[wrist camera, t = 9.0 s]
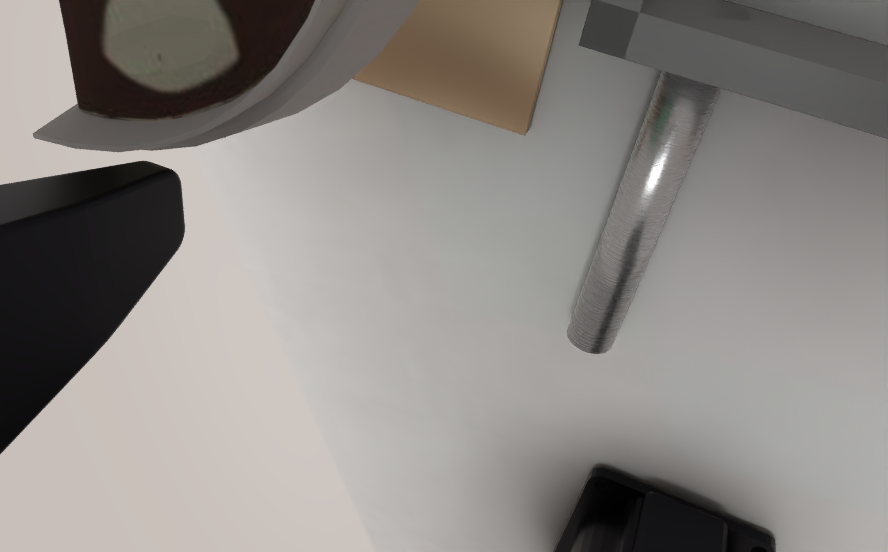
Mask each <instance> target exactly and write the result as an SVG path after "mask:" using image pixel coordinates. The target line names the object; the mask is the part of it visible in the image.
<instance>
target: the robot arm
mask: <svg viewBox="0 0 888 552" xmlns="http://www.w3.org/2000/svg"><path fill="white" fill-rule="evenodd" d="M183 212H184V211H183V200H182V188H181V181H180V178H179V176H178V174H177V173H176V172H174V171H173V170H172V169H169V168H166V167H163V166H160V165H157V164H154V163H152V162H148V161H138V162H132V163H126V164H120V165H115V166H109V167H103V168H97V169H91V170H86V171H79V172H74V173H68V174H62V175H57V176H51V177H44V178H38V179H33V180H27V181H21V182H15V183H9V184H3V185H0V454H1V453H2V452H3V451H4V450H5V449H6V448H7V447H8V446H9V444H11V442H12V441H13V440H14V439H15V438H16V437H17V436H18V435H19V434H20V433H21V432H22V431H23V430H24V429H25V428H26V427H27V425H29V424H30V422H31V421H32V420H33V419H34V418H35V417H36V416H37V415H38V414H39V413H40V412H41V411H42V410H43V408H45V407H46V406H47V405H48V403H49V402H50V401H51V400H52V399H53V398H54V397H55V396H56V395H57V394H58V393H59V392H60V391H61V390H62V389H63V388H64V386H66V384H67V383H68V382H69V381H70V380H71V379H72V378H73V377H74V376H75V375H76V374H77V373H78V372H79V371H80V370H81V369H82V368H83V367H84V366H85V364H86V363H87V362H88V361H89V360H90V359H91V358H92V357H93V356H94V355H95V354H96V353H97V351H98V350H99V349H100V348H101V347H102V346H103V345H104V344H105V343H106V342H107V341H108V339H109V338H110V337H111V336H112V334H113V333H114V332H115V331H116V329H117V328H118V327H119V326H120V325H121V323H122V322H123V321H124V319H125V318H126V317H127V315H128V314H129V313H130V311H131V310H132V309H133V308H134V306H135V305H136V304H137V302H138V301H139V300H140V299H141V297H142V296H143V294H144V293H145V292H146V290H147V289H148V288H149V287H150V285H151V284H152V283H153V282H154V280H155V279H156V278H157V276H158V275H159V274H160V272H161V271H162V270H163V268H164V267H165V266H166V265H167V263H168V262H169V261H170V259H171V258H172V257H173V255H174V254H175V253H176V251H177V250H178V248H179V247H180V245H181V243H182V241H183V237H184V232H185V223H184V213H183ZM601 481H602V482H601ZM604 482H605V483H604ZM553 552H776V543H775V540H774V539H773V538H772V537H771V536H769V535H767V534H765V533H763V532H761V531H758V530H756V529H753V528H751V527H748V526H746V525H743V524H741V523H739V522H736V521H734V520H731V519H729V518H726V517H724V516H722V515H719V514H717V513H714V512H712V511H709V510H707V509H704V508H702V507H700V506H697V505H695V504H692V503H690V502H687V501H685V500H682V499H680V498H678V497H675V496H673V495H670V494H668V493H665V492H663V491H660V490H658V489H656V488H653V487H651V486H648V485H646V484H643V483H641V482H638V481H636V480H634V479H631V478H629V477H626V476H624V475H621V474H619V473H616V472H614V471H612V470H609V469H606V468H595V469H593V470H592V471H591V472H590V474H589V476H588V478H587V480H586V483H585V485H584V487H583V489H582V491H581V493H580V495H579V497H578V500H577V502H576V504H575V506H574V508H573V510H572V512H571V514H570V517H569V519H568V521H567V523H566V525H565V527H564V529H563V532H562V534H561V536H560V538H559V540H558V542H557V544H556V546H555V549H554V551H553Z"/></svg>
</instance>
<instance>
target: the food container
mask: <svg viewBox="0 0 888 552" xmlns="http://www.w3.org/2000/svg"><path fill="white" fill-rule="evenodd" d="M418 2H419V0H59V3H60V8H61V13H62V17H63V23H64V27H65V33H66V38H67V44H68V50H69V55H70V61H71V67H72V73H73V79H74V84H75V90H76V95H77V102H78V104H76V105H75V106H73V107H72V108H70V109H69V110H67V111H66V112H64V113H63V114H61V115H60V116H58V117H57V118H55V119H54V120H52V121H51V122H49V123H48V124H46V125H45V126H43V127H42V128H40V129H39V130H37V131H36V132H35V133H33V136H34V138H36V139H40V140H44V141H48V142H52V143H56V144H60V145H64V146H67V147H72V148H76V149H77V148H78V149H89V150H100V151H112V152H124V151H133V150H163V149H173V148H182V147H192V146H198V145H201V144H204V143H208V142H211V141H214V140H217V139H220V138H223V137H226V136H230V135H233V134H236V133H239V132H242V131H245V130H248V129H251V128H254V127H257V126H260V125H263V124H266V123H269V122H272V121H275V120H278V119H281V118H284V117H287V116H290V115H293V114H296V113H298V112H300V111H302V110H304V109H305V108H307V107H309V106H311V105H312V104H314V103H316V102H318V101H319V100H321V99H323V98H325V97H326V96H328V95H330V94H332V93H333V92H335V91H337V90H339V89H340V88H341V87H342V86H343V85H345V84H346V83H347V82H348V81H349V80H350V79H351V78H352V77H354V76H355V75H356V74H357V73H358V72H359V71H360V70H362V69H363V68H364V67H365V66H366V65H367V64H368V63H370V62H371V61H372V60H373V59H374V58H375V57H376V56H378V55H379V53H380V52H381V51H382V50H383V48H384V47H385V46H386V45H387V43H388V42H389V41H390V39H391V38H392V37H393V36H394V34H395V33H396V32H397V30H398V29H399V28H400V27H401V25H402V24H403V23H404V21H405V20H406V19H407V18H408V16H409V15H410V14H411V12H412V11H413V10H414V9H415V7H416V5H417V4H418Z"/></svg>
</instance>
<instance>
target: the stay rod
mask: <svg viewBox="0 0 888 552" xmlns="http://www.w3.org/2000/svg"><path fill="white" fill-rule="evenodd" d="M720 91H721V88H718V87H715V86H712V85H708V84H705V83H702V82H698V81H695V80H692V79H688V78H685V77H682V76H678V75H675V74H672V73H668V72H665V71H662V72H661V75H660V78H659V80H658V83H657V86H656V89H655V91H654V94H653V97H652V99H651V102H650V105H649V108H648V110H647V113H646V116H645V119H644V121H643V124H642V127H641V130H640V132H639V135H638V138H637V141H636V143H635V146H634V149H633V151H632V154H631V157H630V160H629V162H628V165H627V168H626V171H625V173H624V176H623V179H622V182H621V184H620V187H619V190H618V192H617V195H616V198H615V201H614V203H613V206H612V209H611V212H610V214H609V217H608V220H607V223H606V225H605V228H604V231H603V234H602V236H601V239H600V242H599V244H598V247H597V250H596V253H595V255H594V258H593V261H592V264H591V266H590V269H589V272H588V275H587V277H586V280H585V283H584V286H583V288H582V291H581V294H580V296H579V299H578V302H577V305H576V307H575V310H574V313H573V316H572V318H571V321H570V324H569V327H568V330H567V335H568V338H569V340H570V341H571V342H572V343H573V344H574V345H575V346H576V347H577V348H579V349H581V350H583V351H585V352H588V353H593V354H600V353H605V352H607V351H609V350H610V349H611V347H612V345H613V343H614V340H615V338H616V335H617V333H618V331H619V328H620V326H621V324H622V321H623V319H624V317H625V314H626V312H627V310H628V307H629V305H630V303H631V300H632V298H633V296H634V293H635V291H636V288H637V286H638V284H639V281H640V279H641V277H642V274H643V272H644V270H645V267H646V265H647V263H648V260H649V258H650V256H651V253H652V251H653V249H654V246H655V244H656V241H657V239H658V237H659V234H660V232H661V230H662V227H663V225H664V223H665V220H666V218H667V216H668V213H669V211H670V209H671V206H672V204H673V202H674V199H675V197H676V195H677V192H678V190H679V187H680V185H681V183H682V180H683V178H684V176H685V173H686V171H687V169H688V166H689V164H690V162H691V159H692V157H693V155H694V152H695V150H696V148H697V145H698V143H699V140H700V138H701V136H702V133H703V131H704V129H705V126H706V124H707V122H708V119H709V117H710V115H711V112H712V110H713V108H714V105H715V103H716V101H717V98H718V96H719V93H720Z"/></svg>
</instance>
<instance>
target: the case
mask: <svg viewBox="0 0 888 552" xmlns="http://www.w3.org/2000/svg"><path fill="white" fill-rule="evenodd" d="M579 46H582V47H586V48H589V49H592V50H596V51H599V52H602V53H605V54H609V55H612V56H615V57H619V58H622V59H625V60H629V61H632V62H635V63H639V64H642V65H645V66H649V67H652V68H655V69H659V70H662V71H665V72H668V73H672V74H675V75H678V76H682V77H685V78H688V79H692V80H695V81H698V82H702V83H705V84H708V85H712V86H715V87H718V88H721V89H725V90H728V91H731V92H735V93H738V94H741V95H745V96H748V97H751V98H755V99H758V100H761V101H765V102H768V103H771V104H775V105H778V106H781V107H784V108H788V109H791V110H794V111H798V112H801V113H804V114H808V115H811V116H814V117H818V118H821V119H824V120H828V121H831V122H834V123H837V124H841V125H844V126H847V127H851V128H854V129H857V130H861V131H864V132H867V133H871V134H874V135H877V136H881V137H884V138H887V139H888V46H885V45H882V44H878V43H874V42H871V41H867V40H864V39H860V38H857V37H853V36H849V35H846V34H842V33H839V32H835V31H831V30H828V29H824V28H821V27H817V26H814V25H810V24H806V23H803V22H799V21H796V20H792V19H789V18H785V17H781V16H778V15H774V14H771V13H767V12H763V11H760V10H756V9H753V8H749V7H746V6H742V5H738V4H735V3H731V2H728V1H724V0H592V1H591V4H590V8H589V11H588V15H587V18H586V22H585V25H584V29H583V32H582V36H581V39H580V43H579Z"/></svg>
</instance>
